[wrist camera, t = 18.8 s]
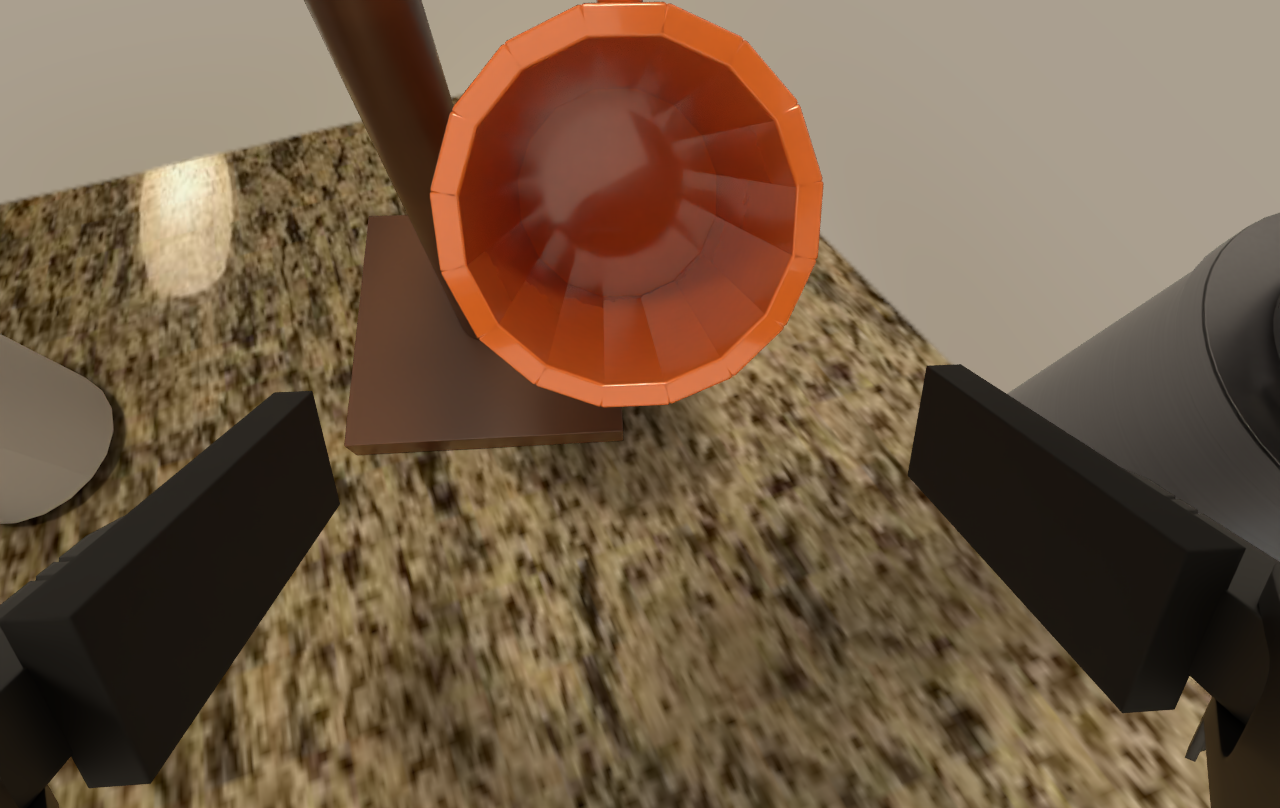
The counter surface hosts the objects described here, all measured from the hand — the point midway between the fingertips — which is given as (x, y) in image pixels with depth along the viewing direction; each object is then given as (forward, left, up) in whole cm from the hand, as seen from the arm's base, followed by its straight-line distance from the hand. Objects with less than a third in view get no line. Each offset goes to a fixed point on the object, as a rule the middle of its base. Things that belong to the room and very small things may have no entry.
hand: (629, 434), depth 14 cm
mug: (+2, -13, -5) cm, 14 cm away
